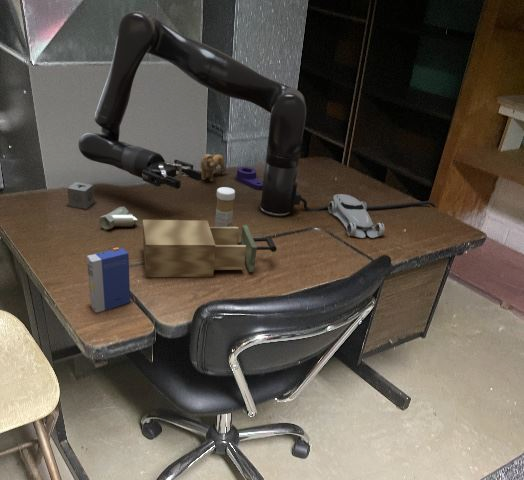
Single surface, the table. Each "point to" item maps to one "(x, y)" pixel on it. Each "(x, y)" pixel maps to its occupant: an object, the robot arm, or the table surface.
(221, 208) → the sprinkles bottle
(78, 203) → the dice cube
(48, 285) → the table surface
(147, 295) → the table surface
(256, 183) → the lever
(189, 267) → the cabinet
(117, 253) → the walkman
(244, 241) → the drawer
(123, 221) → the pipe fitting
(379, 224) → the car model
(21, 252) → the table surface
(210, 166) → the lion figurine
